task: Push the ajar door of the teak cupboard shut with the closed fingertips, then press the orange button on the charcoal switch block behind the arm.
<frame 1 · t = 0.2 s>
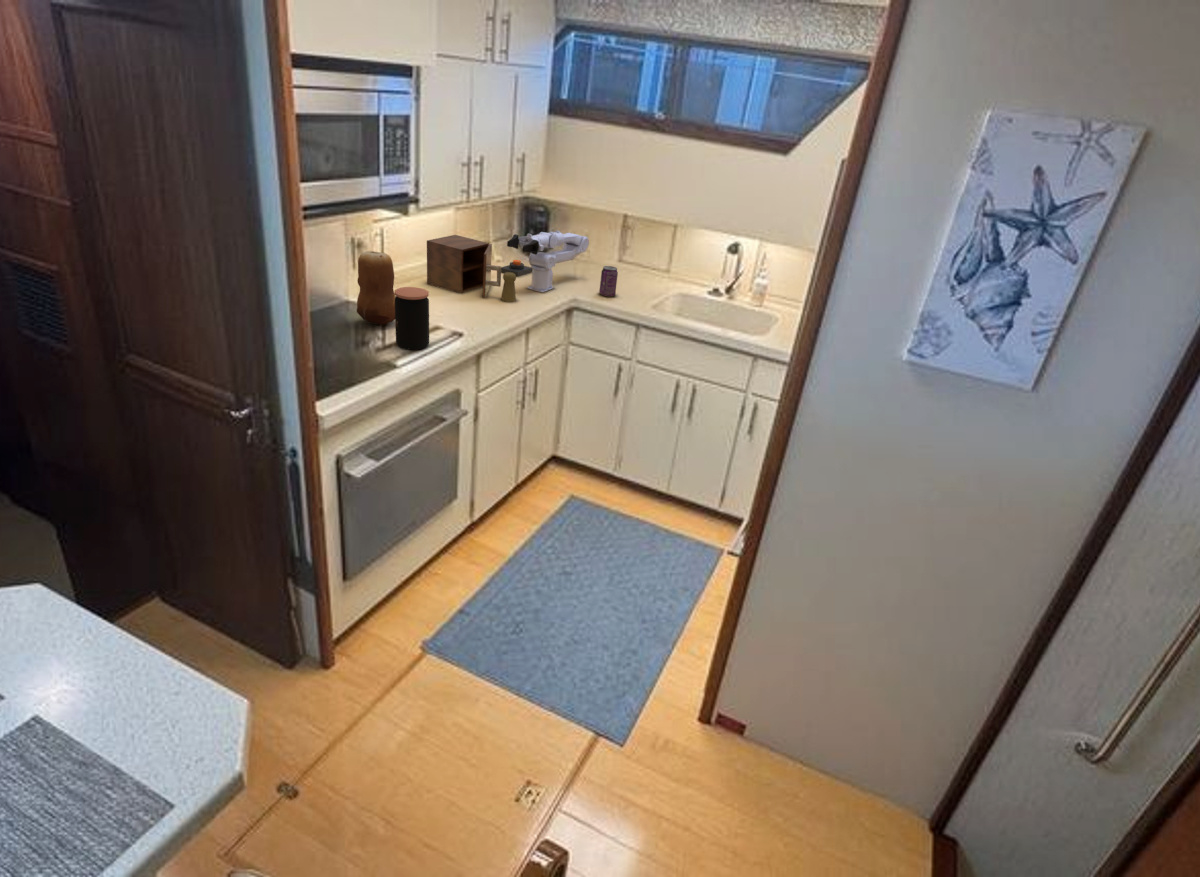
hand: (515, 246, 275), 21 cm above the counter, tool horizontal, fingers open, 7 cm apart
beverage can: (607, 295, 303), on the counter
coffee jar: (412, 345, 228), on the counter
door: (494, 271, 284), point 9 cm above the counter, hinge at 30.0°
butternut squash: (378, 324, 242), on the counter
switch block: (516, 272, 319), on the counter
cupboard: (457, 284, 293), on the counter
button: (516, 262, 317), point 4 cm above the counter, slide at 0.1 cm
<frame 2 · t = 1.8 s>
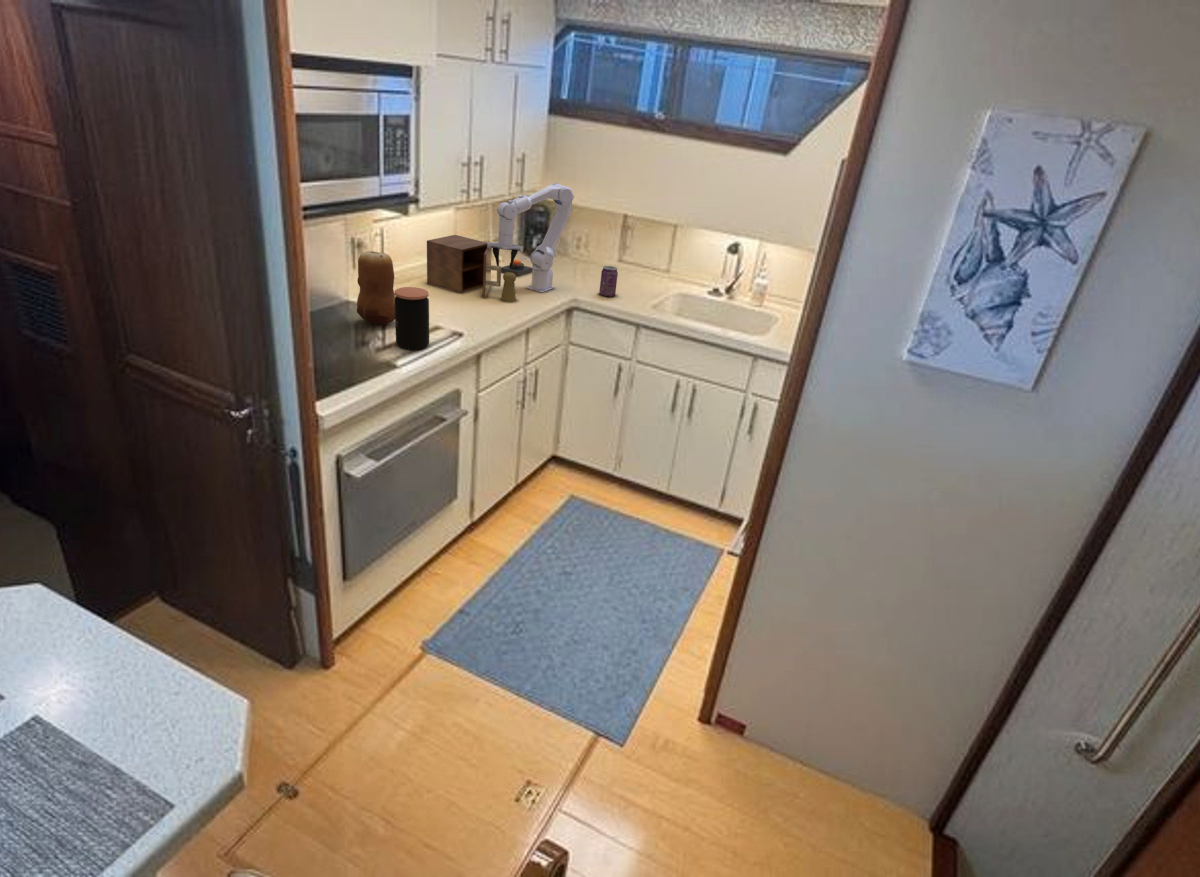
hand: (504, 267, 286), 10 cm above the counter, tool pointing down, fingers open, 5 cm apart
nothing on the counter moved.
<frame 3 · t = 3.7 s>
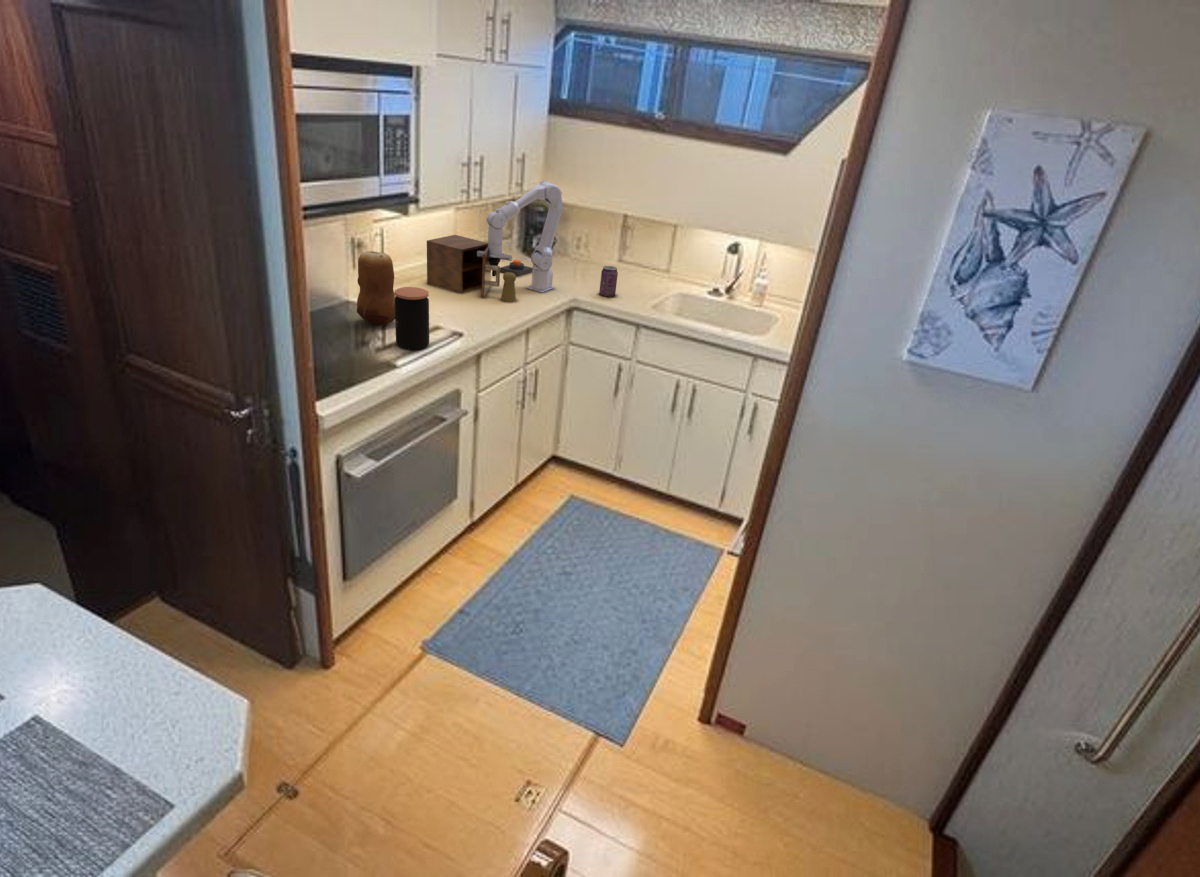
hand: (494, 275, 287), 6 cm above the counter, tool pointing down, fingers closed
door: (493, 271, 284), point 9 cm above the counter, hinge at 28.5°, touching gripper
everything else where it was.
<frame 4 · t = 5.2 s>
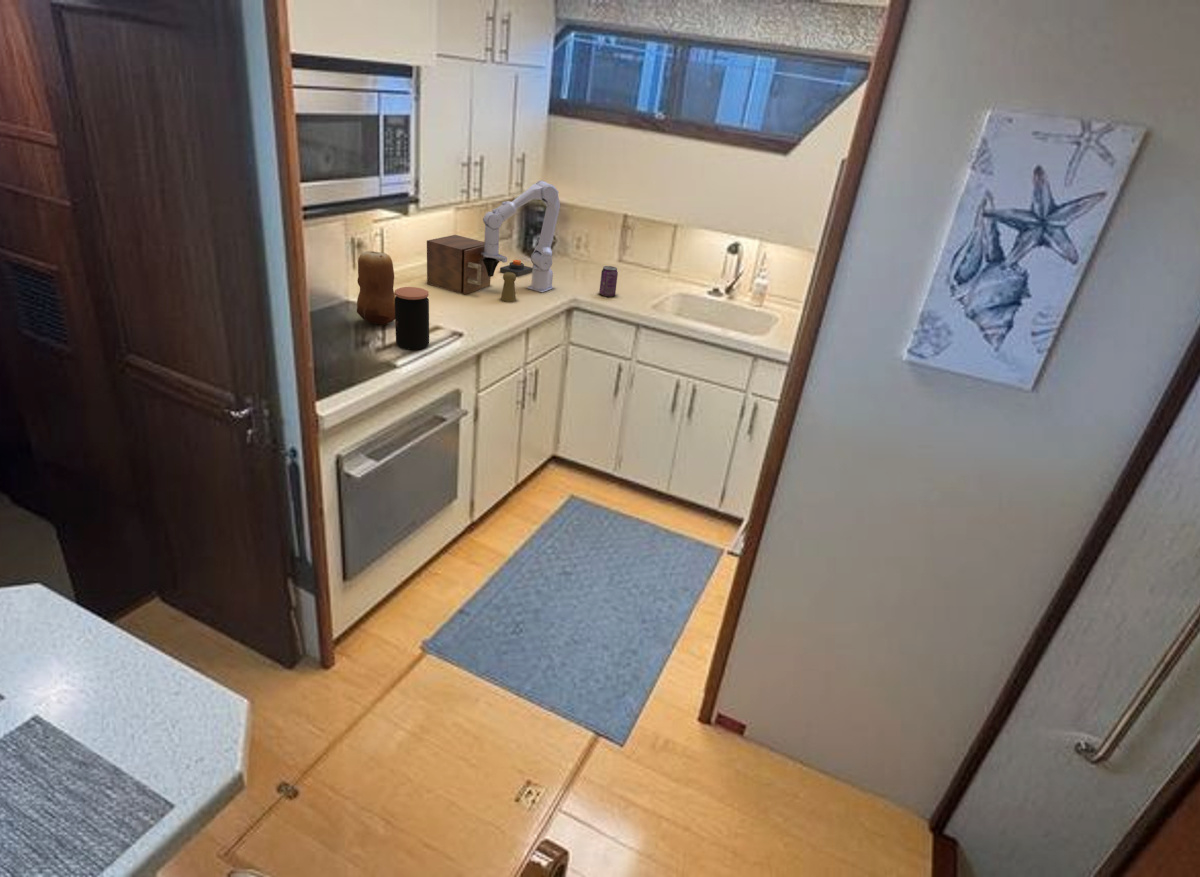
hand: (490, 276, 287), 6 cm above the counter, tool pointing down, fingers closed
door: (483, 270, 284), point 9 cm above the counter, hinge at 2.8°
everything else where it was.
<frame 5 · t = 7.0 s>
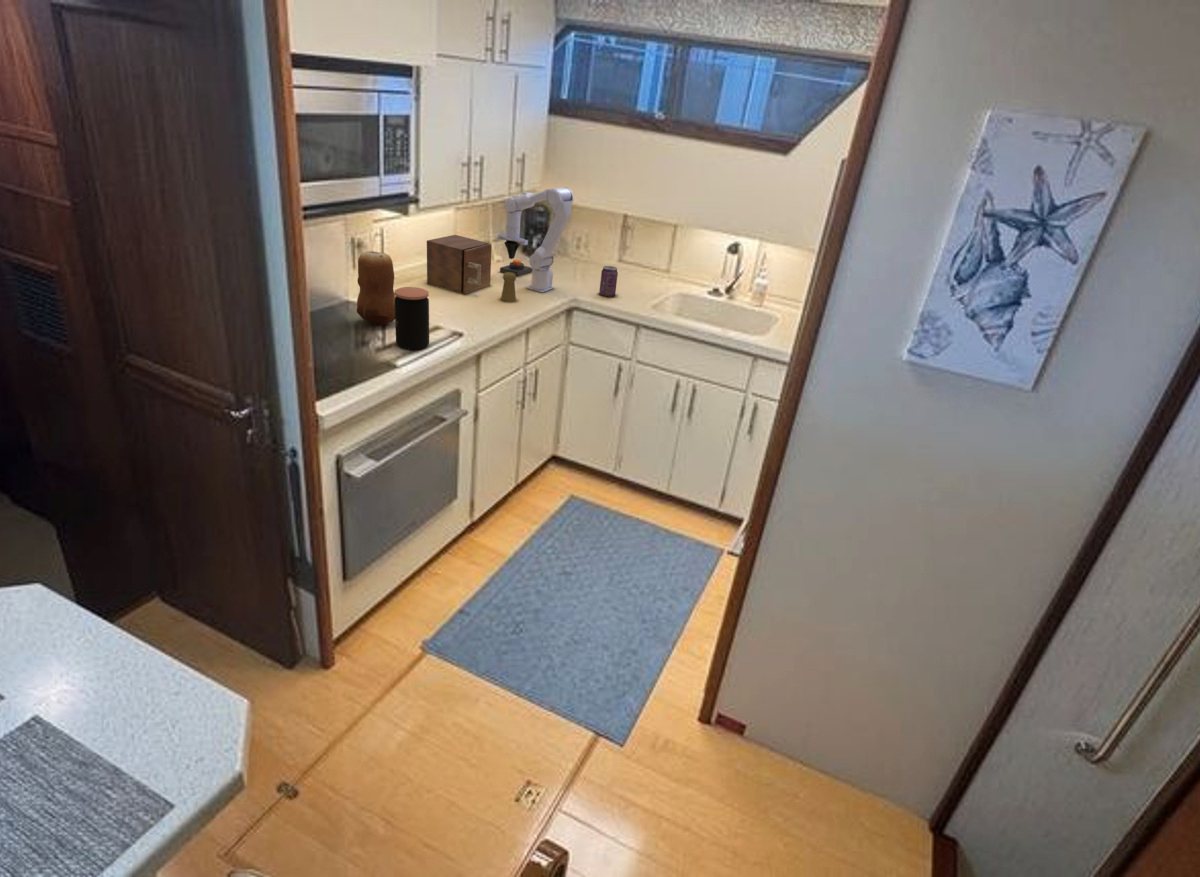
hand: (511, 258, 303), 10 cm above the counter, tool pointing down, fingers closed
nothing on the counter moved.
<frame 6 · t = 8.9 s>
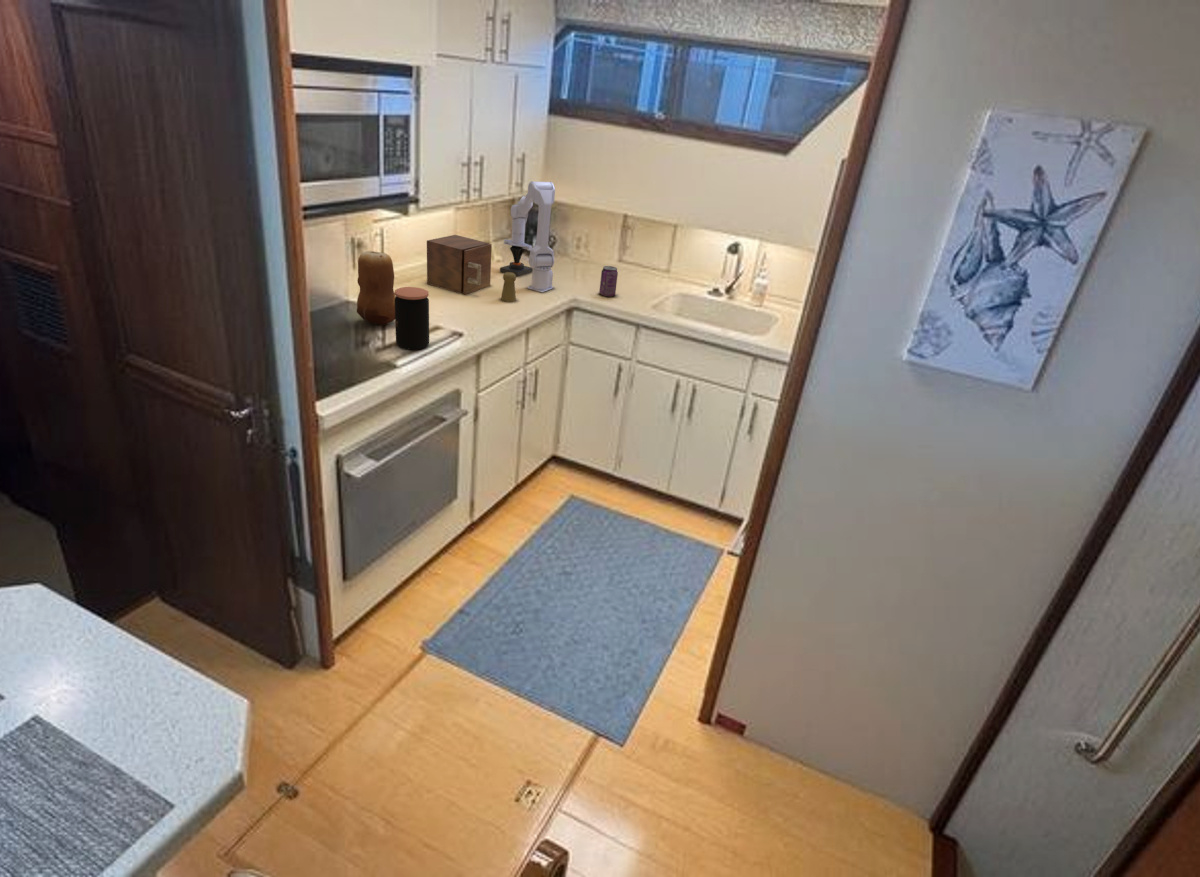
hand: (516, 262, 317), 4 cm above the counter, tool pointing down, fingers closed, pressing on button
button: (516, 264, 318), point 4 cm above the counter, slide at -0.8 cm, touching gripper
everything else where it was.
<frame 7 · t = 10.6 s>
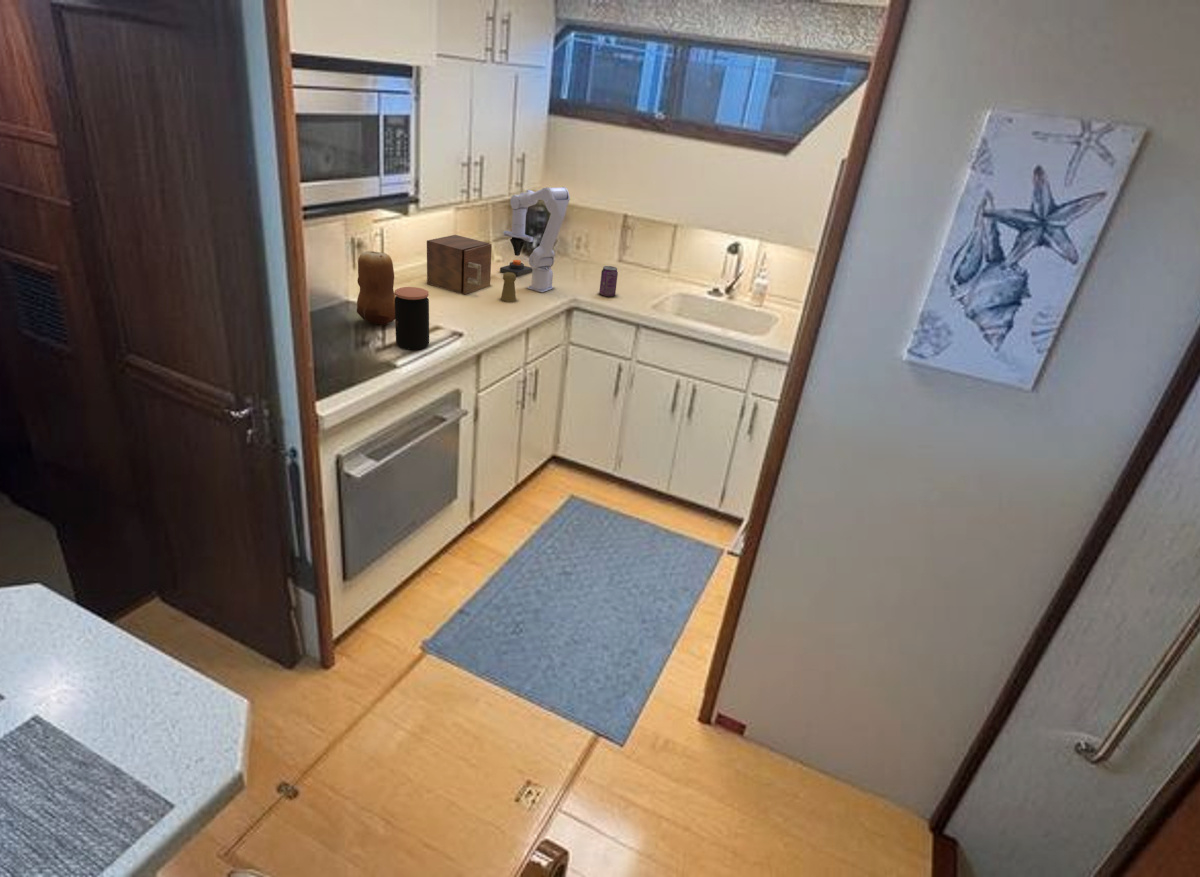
hand: (517, 255, 306), 10 cm above the counter, tool pointing down, fingers closed
button: (516, 262, 317), point 4 cm above the counter, slide at 0.1 cm
everything else where it was.
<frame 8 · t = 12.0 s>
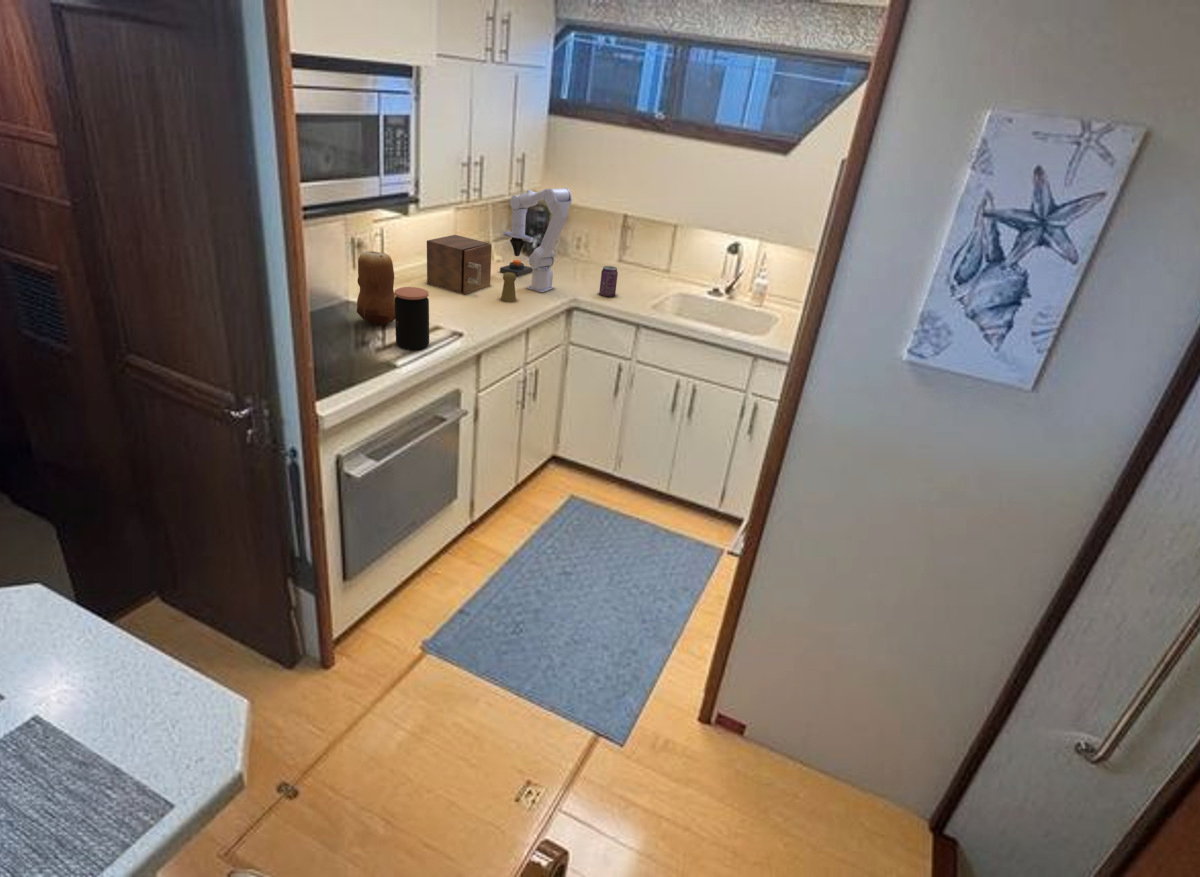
hand: (517, 255, 305), 10 cm above the counter, tool pointing down, fingers closed
nothing on the counter moved.
at the end: door at +3° (first picture: +30°); button pushed in 1.2 cm at the most during the clip, back to where it started at the end; button slide at 0.1 cm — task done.
